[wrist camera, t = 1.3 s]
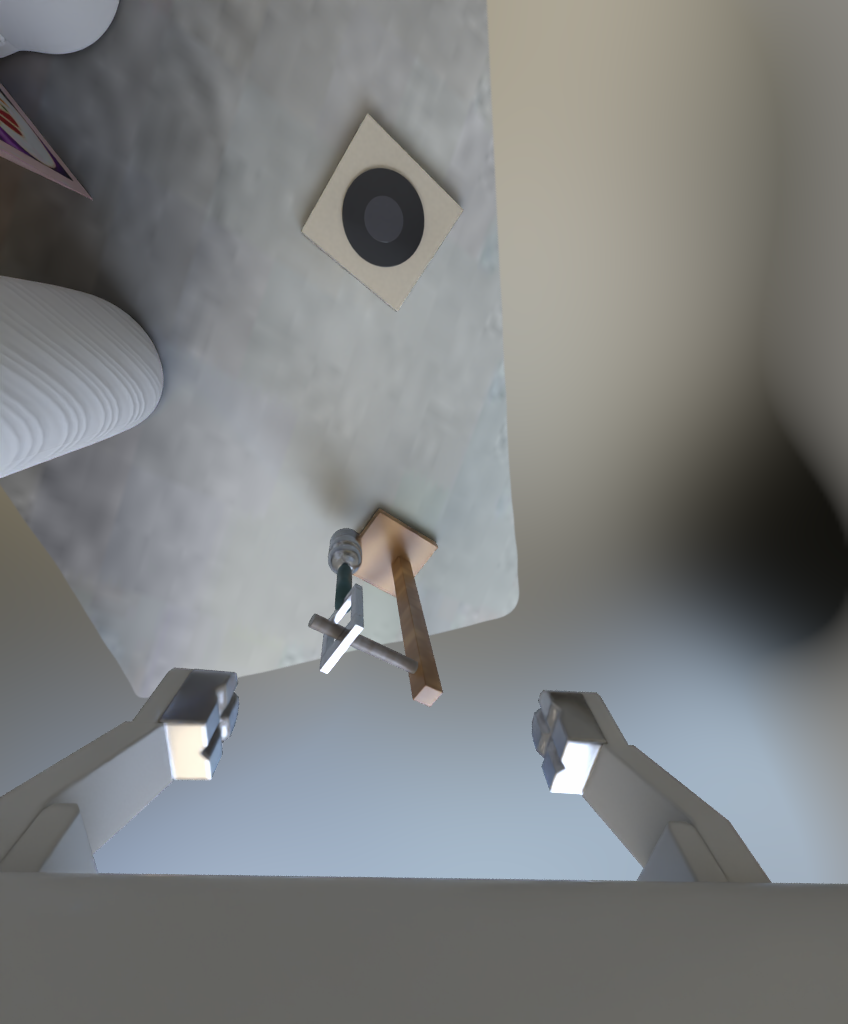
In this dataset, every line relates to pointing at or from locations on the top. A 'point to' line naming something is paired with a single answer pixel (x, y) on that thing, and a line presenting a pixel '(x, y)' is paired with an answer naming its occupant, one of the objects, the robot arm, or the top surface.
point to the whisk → (344, 594)
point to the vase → (68, 372)
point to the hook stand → (392, 568)
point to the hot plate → (381, 215)
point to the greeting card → (31, 146)
